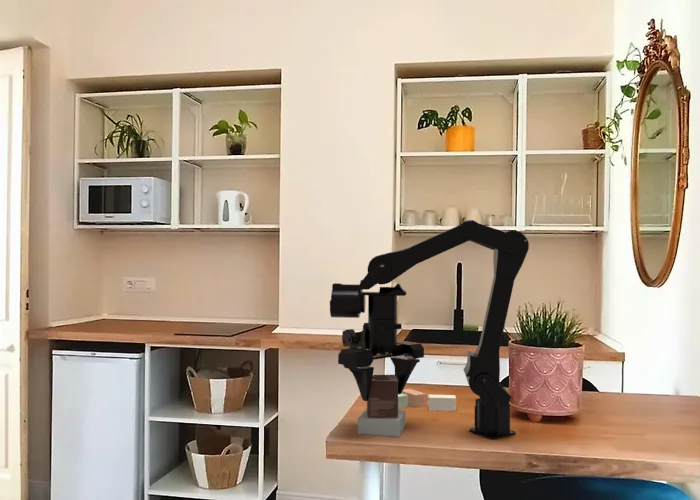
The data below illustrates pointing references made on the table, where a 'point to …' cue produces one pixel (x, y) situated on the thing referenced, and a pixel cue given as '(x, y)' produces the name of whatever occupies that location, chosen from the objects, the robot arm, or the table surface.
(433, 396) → the cream brick
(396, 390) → the box
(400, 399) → the sage brick
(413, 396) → the terracotta brick
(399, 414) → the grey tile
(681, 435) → the table surface
